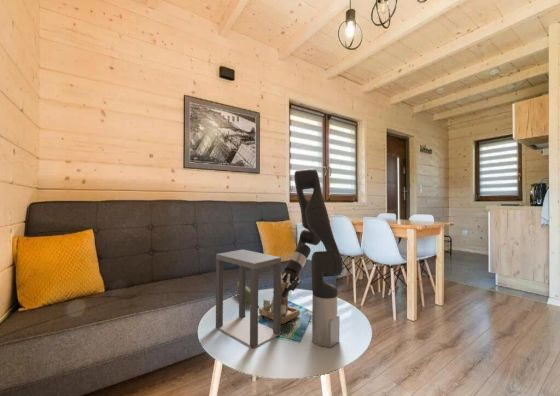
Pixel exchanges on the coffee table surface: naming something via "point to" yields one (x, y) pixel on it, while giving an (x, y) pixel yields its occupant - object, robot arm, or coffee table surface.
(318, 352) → the coffee table surface
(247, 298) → the handheld radio
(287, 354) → the coffee table surface
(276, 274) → the grey stool
